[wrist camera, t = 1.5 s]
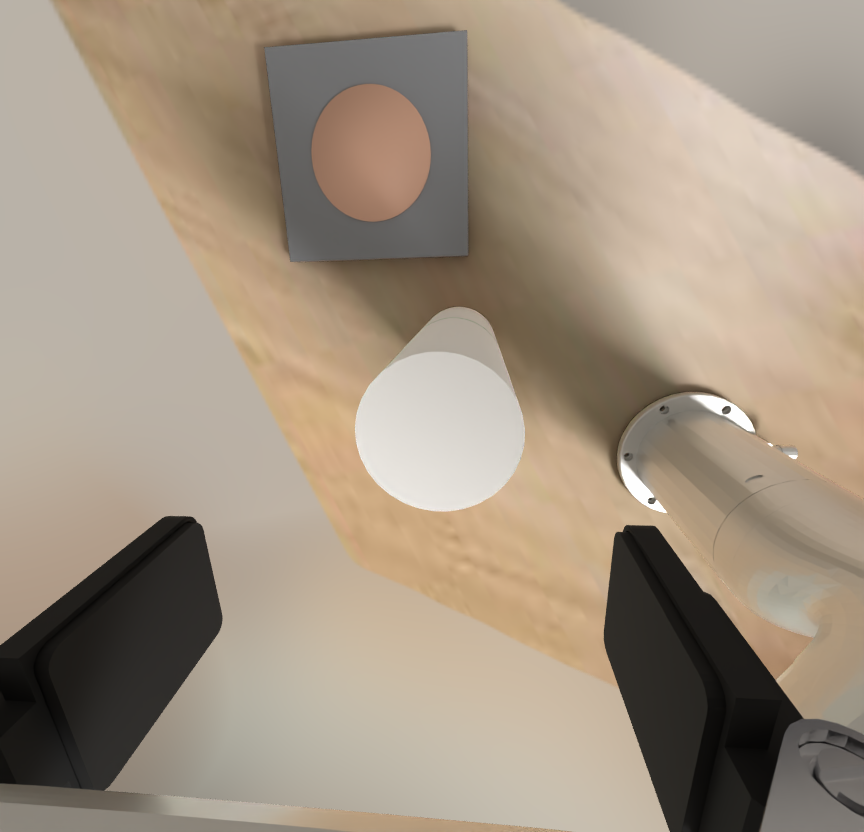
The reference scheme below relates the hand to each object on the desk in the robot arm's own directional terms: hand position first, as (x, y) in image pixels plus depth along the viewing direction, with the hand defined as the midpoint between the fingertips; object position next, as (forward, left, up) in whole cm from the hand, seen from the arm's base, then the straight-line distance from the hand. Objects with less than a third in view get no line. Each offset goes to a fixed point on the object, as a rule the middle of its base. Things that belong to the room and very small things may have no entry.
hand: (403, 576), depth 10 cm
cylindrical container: (0, 0, -34) cm, 34 cm away
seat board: (+7, -16, -34) cm, 38 cm away
